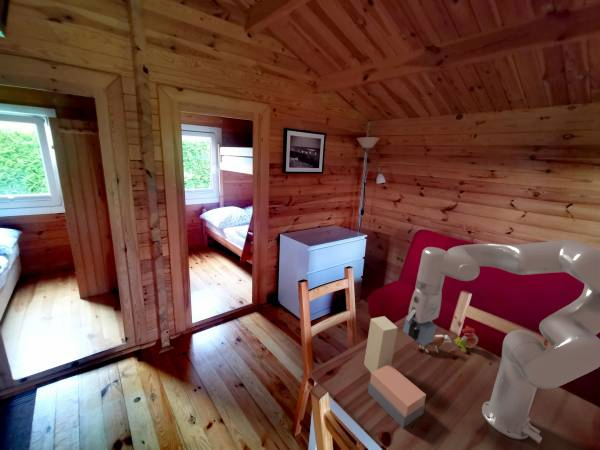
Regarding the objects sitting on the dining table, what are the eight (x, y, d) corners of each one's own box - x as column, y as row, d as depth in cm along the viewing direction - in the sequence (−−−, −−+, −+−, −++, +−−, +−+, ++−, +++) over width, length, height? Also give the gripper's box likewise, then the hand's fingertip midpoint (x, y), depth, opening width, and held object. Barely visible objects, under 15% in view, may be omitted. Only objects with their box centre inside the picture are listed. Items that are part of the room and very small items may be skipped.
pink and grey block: (422, 413, 89) (427, 394, 87) (402, 428, 84) (406, 407, 82) (387, 381, 101) (390, 363, 99) (367, 392, 96) (370, 373, 94)
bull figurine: (450, 354, 118) (454, 338, 116) (419, 352, 118) (422, 336, 116) (445, 348, 122) (448, 332, 120) (415, 346, 122) (418, 330, 120)
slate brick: (433, 341, 89) (436, 325, 88) (423, 345, 87) (427, 329, 85) (412, 327, 96) (416, 312, 94) (403, 331, 93) (406, 315, 92)
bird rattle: (463, 347, 127) (448, 341, 125) (476, 327, 125) (462, 321, 123) (473, 356, 121) (458, 350, 119) (487, 336, 119) (472, 329, 117)
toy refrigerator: (391, 374, 105) (399, 327, 100) (376, 379, 102) (383, 330, 97) (378, 360, 112) (385, 315, 107) (363, 364, 109) (369, 318, 104)
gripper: (421, 296, 79) (410, 349, 84) (455, 286, 88) (444, 335, 92) (400, 285, 85) (391, 335, 90) (434, 277, 94) (424, 323, 98)
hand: (418, 334), depth 91 cm, fingers closed on slate brick, 5 cm apart
